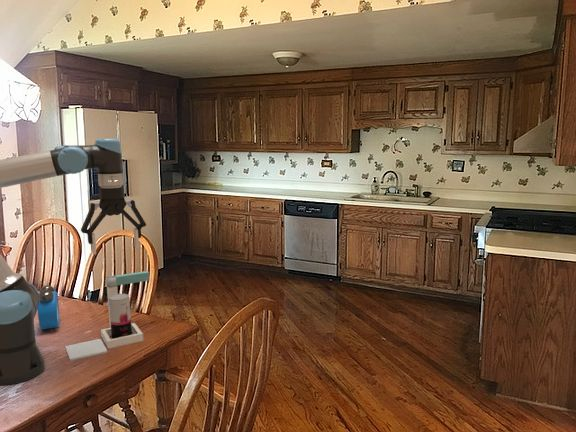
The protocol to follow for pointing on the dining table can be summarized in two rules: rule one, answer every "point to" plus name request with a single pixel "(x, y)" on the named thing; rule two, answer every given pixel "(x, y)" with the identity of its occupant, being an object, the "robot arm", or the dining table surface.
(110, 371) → the dining table surface
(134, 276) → the bar
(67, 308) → the dining table surface
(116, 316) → the beverage can
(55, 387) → the dining table surface
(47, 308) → the alarm clock
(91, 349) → the mat
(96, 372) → the dining table surface
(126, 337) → the grey frame with post
